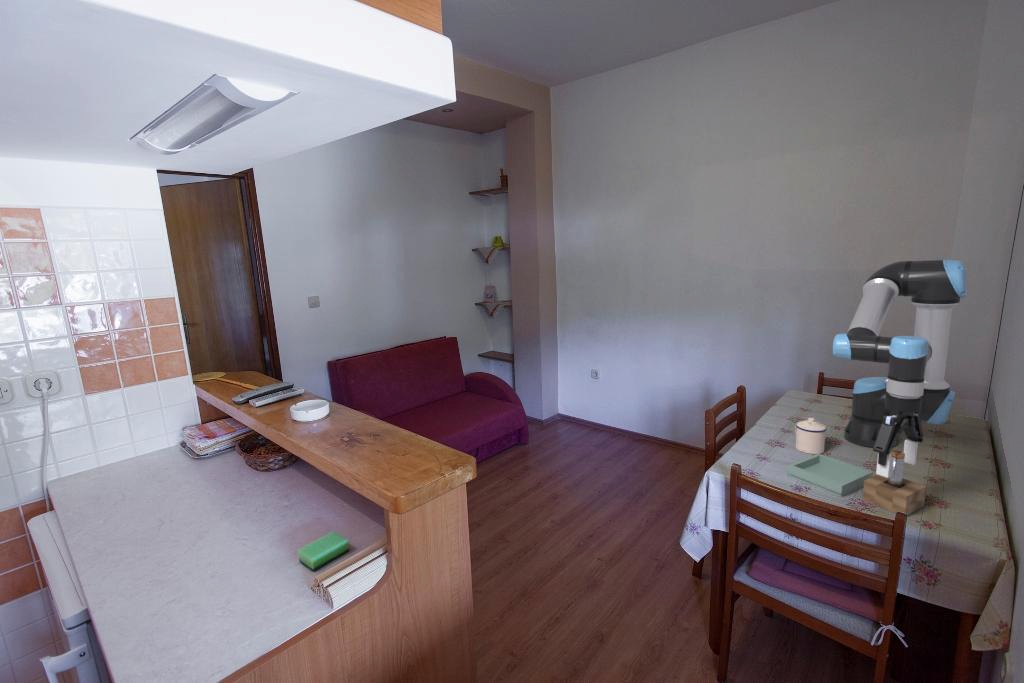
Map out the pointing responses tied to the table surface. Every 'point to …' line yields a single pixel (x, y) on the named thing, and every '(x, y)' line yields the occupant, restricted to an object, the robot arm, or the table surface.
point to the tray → (829, 474)
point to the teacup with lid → (810, 436)
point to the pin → (896, 469)
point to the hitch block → (894, 495)
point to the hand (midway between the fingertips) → (896, 469)
